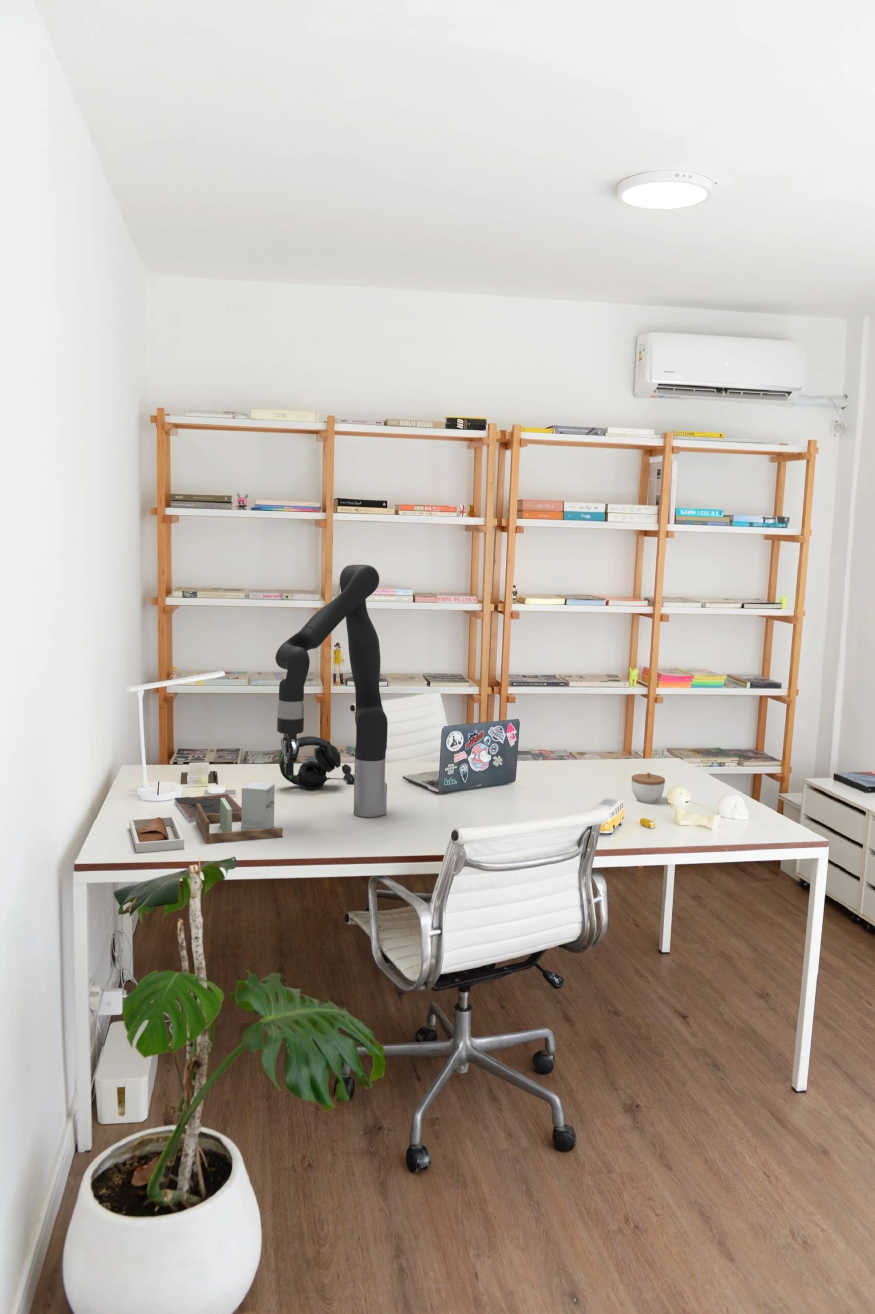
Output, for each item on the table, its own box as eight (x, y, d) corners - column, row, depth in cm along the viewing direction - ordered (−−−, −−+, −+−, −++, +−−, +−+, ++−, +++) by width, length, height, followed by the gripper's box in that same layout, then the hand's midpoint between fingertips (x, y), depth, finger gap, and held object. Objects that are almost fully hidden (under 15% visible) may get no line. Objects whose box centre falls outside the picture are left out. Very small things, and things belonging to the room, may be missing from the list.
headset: (340, 810, 326) (270, 778, 310) (333, 784, 336) (265, 752, 321) (373, 773, 320) (303, 739, 305) (365, 748, 331) (296, 714, 316)
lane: (268, 818, 284) (268, 798, 284) (282, 836, 267) (282, 815, 267) (196, 823, 277) (196, 803, 276) (206, 843, 260) (206, 821, 259)
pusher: (224, 824, 276) (224, 797, 275) (231, 837, 265) (231, 809, 264) (220, 825, 276) (220, 798, 275) (227, 837, 265) (227, 809, 264)
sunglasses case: (132, 829, 269) (144, 808, 270) (154, 840, 272) (167, 819, 272) (136, 850, 252) (150, 827, 253) (160, 861, 255) (174, 839, 256)
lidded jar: (636, 794, 325) (638, 767, 324) (667, 799, 320) (669, 772, 319) (625, 801, 316) (627, 773, 315) (657, 806, 311) (659, 778, 310)
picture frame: (174, 805, 297) (189, 825, 277) (174, 797, 296) (189, 816, 277) (227, 800, 304) (245, 819, 285) (227, 793, 304) (245, 811, 284)
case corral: (174, 824, 275) (174, 816, 275) (184, 848, 255) (184, 839, 254) (129, 828, 270) (129, 819, 270) (136, 852, 250) (136, 843, 250)
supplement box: (265, 833, 270) (265, 789, 268) (240, 831, 271) (240, 787, 270) (274, 826, 277) (275, 783, 275) (250, 823, 278) (251, 781, 277)
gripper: (309, 719, 269) (307, 780, 271) (298, 711, 281) (296, 769, 283) (282, 720, 266) (281, 781, 268) (272, 711, 278) (271, 770, 280)
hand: (289, 775), depth 276 cm, fingers closed
